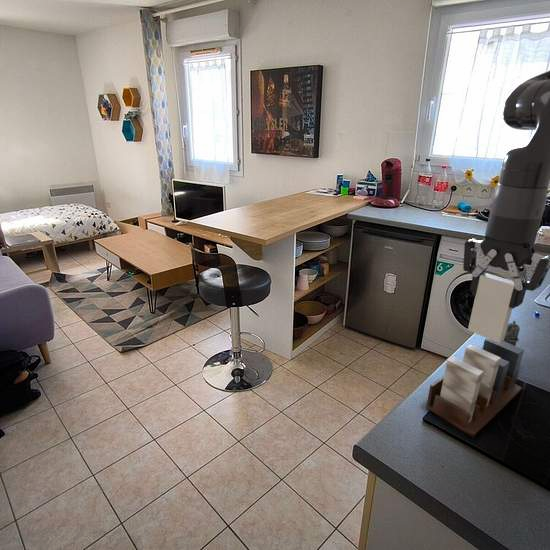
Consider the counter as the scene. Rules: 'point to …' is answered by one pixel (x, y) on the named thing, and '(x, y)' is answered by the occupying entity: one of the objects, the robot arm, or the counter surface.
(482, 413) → the book rack
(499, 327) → the white book
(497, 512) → the counter surface
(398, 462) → the counter surface
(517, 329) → the stone chess piece
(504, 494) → the counter surface
